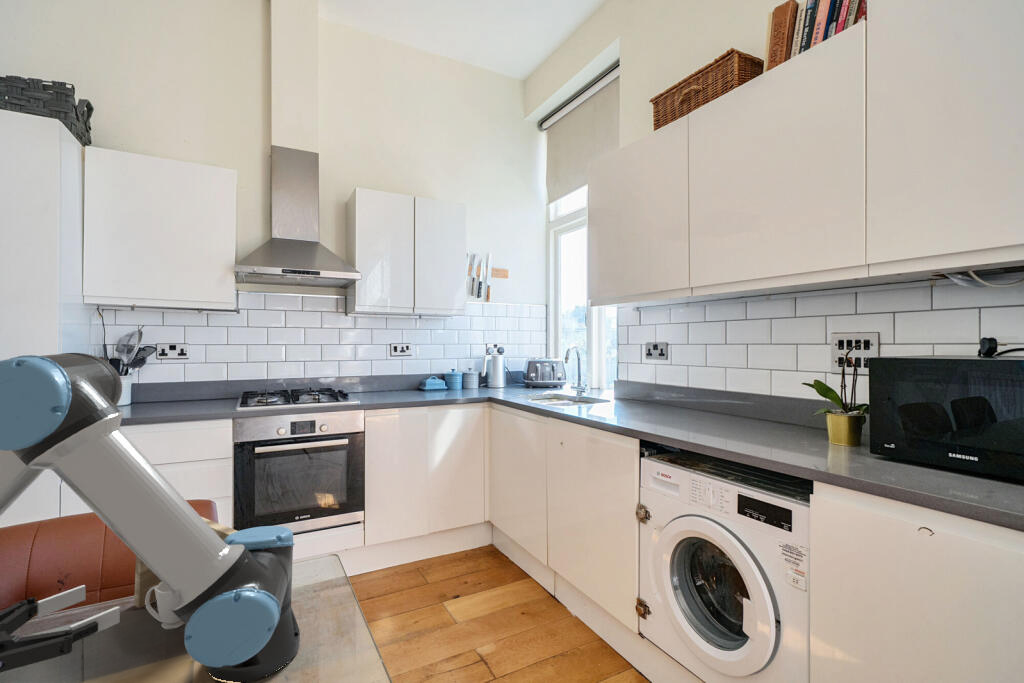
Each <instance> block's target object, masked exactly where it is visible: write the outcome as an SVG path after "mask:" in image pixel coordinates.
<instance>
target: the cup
mask: <svg viewBox="0 0 1024 683" xmlns="http://www.w3.org/2000/svg"><path fill="white" fill-rule="evenodd" d="M153 589H155V595H156V600H157V601H156V605H157V611H156V610H155V609H154V608H153V607H152V605H151V603H150V601H149V600H150V594H151V591H152V590H153ZM171 597H172V591H171V590H170V589H169V588H168V587H167V586H166V585H165V584H164V583H163V582H160V583H159V584H158V585H156V586H153V587H152V588H150V589H149V591H148V592H147V594H146V598H145V605H146V606H145V609H146V610H147V611H148V613H149V614H150V615H151V616H152V617H153V618H154V619H155V620H157V621H159V622H160V623H161V627H162V628H163V629H165V630H171V629H177V628H179V627H181V626H183V625H185V624H184V623H183V622H182V621H181V620H180V619H179V618H178V617H177V615H176V614H175V613H174V612H173V611H172V610H171V609H170V602H171Z"/></svg>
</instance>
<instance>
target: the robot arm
mask: <svg viewBox="0 0 1024 683" xmlns="http://www.w3.org/2000/svg"><path fill="white" fill-rule="evenodd" d="M122 393H123V384H122V380H121V376H120V374H119V373H118V371H117V370H116V369H115V367H114V366H113V365H112V364H111V363H110V362H107V360H105V359H104V358H101V357H98V356H97V355H96V356H95V355H93V354H89V353H83V352H82V353H81V352H67V353H63V352H62V353H59V354H58V353H56V354H48V355H47V354H46V355H34V354H29V355H18V356H15V357H11V358H7V359H1V360H0V517H1V516H3V514H4V513H5V512H6V511H8V509H9V508H10V507H11V506H12V505H13V504H14V503H15V502H16V501H17V500H18V498H20V496H22V495H23V493H24V492H25V491H26V490H28V488H29V487H30V486H31V485H32V484H33V483H34V482H35V481H36V480H37V479H38V478H39V476H41V475H42V474H43V472H45V471H46V470H50V471H51V472H54V473H55V475H57V476H58V477H59V478H60V479H61V480H62V481H63V482H64V484H66V485H67V487H68V488H70V490H72V492H73V493H74V494H76V496H78V498H80V500H81V501H82V502H84V504H86V506H88V508H89V509H90V510H91V511H92V512H93V513H95V515H96V516H97V517H98V518H99V519H100V520H101V521H102V522H103V523H104V524H105V525H106V526H107V527H108V528H109V529H110V530H111V531H112V532H113V533H114V534H115V535H116V536H117V538H119V539H120V540H121V541H122V542H123V543H124V545H126V546H127V547H128V548H129V549H130V550H131V551H132V552H133V553H134V554H135V556H136V555H137V556H138V557H139V558H140V559H141V560H142V561H143V562H144V563H145V564H146V565H147V566H148V567H149V568H150V569H151V570H152V571H153V573H154V574H155V575H156V576H157V577H158V578H159V579H160V580H161V581H162V582H163V583H164V584H165V585H166V586H167V587H168V588H169V589H170V590H171V591H172V597H171V602H170V609H171V610H172V611H173V612H174V613H175V614H176V615H177V617H178V618H179V619H180V620H181V621H182V622H183V623H184V624H183V625H184V626H185V627H184V640H183V641H184V642H183V643H184V646H185V649H186V652H187V653H188V655H189V656H190V657H191V658H192V659H193V660H194V661H195V662H197V663H199V664H200V665H204V666H206V671H207V670H208V672H209V673H210V674H211V676H213V677H215V678H217V679H221V680H226V681H233V682H246V683H251V682H254V681H258V680H261V679H263V677H264V678H266V677H267V676H266V675H269V674H271V673H273V672H275V671H276V670H278V669H279V668H281V667H282V666H284V665H285V664H286V663H287V662H289V661H290V660H291V659H292V658H293V657H294V656H296V655H297V654H296V653H298V652H299V650H298V649H300V646H301V631H300V627H299V624H298V622H297V618H296V616H295V612H294V610H293V607H292V591H293V590H292V588H293V554H294V551H293V550H294V546H295V542H294V533H293V531H292V530H291V529H290V528H288V527H285V526H281V525H280V526H279V525H265V526H264V525H263V526H255V527H250V528H245V529H241V530H237V532H235V533H232V534H230V535H229V536H227V537H226V538H225V539H224V541H223V540H222V539H221V538H220V537H219V536H218V535H217V534H216V533H215V531H214V530H213V529H212V528H211V527H210V526H209V525H208V524H207V523H206V522H205V521H204V520H203V519H202V517H203V516H201V515H200V514H199V513H198V512H197V511H196V509H194V508H193V506H192V505H190V503H189V502H188V501H187V500H186V499H185V498H184V496H182V495H181V494H180V492H179V491H178V490H177V489H176V488H175V487H174V486H173V485H172V484H171V483H170V482H169V481H168V480H167V478H166V477H165V476H164V475H163V474H162V473H161V472H160V471H159V470H158V469H157V468H156V467H155V466H154V465H153V463H152V462H151V461H150V460H149V458H147V457H146V455H145V454H144V453H142V451H141V450H140V449H139V448H138V447H137V446H136V445H135V443H134V442H133V441H132V440H130V438H128V436H127V435H126V434H125V433H124V432H123V431H122V430H121V423H122V418H123V413H122V411H121V410H120V409H119V408H118V407H117V405H118V404H119V402H120V399H121V397H122ZM86 594H87V593H86V585H85V584H83V585H79V586H76V587H74V588H72V589H68V590H66V591H62V592H60V593H56V594H53V595H52V596H50V597H46V598H44V599H43V598H42V599H41V600H38V601H36V596H35V597H29V598H27V599H26V600H25V599H24V600H20V601H19V602H16V603H14V604H12V605H11V606H8V607H6V608H5V609H3V610H1V611H0V674H1V673H5V672H7V671H11V670H15V669H17V668H18V669H19V668H22V667H25V666H29V665H33V664H36V663H37V664H38V663H40V662H45V661H47V660H51V659H54V658H58V657H62V656H63V657H64V656H65V655H68V654H70V653H72V652H73V644H74V643H76V642H79V641H81V640H83V639H85V638H88V637H90V636H92V635H94V634H97V633H99V632H102V631H104V630H106V629H109V628H111V627H113V626H115V625H117V624H120V616H121V613H120V612H121V611H120V609H121V608H120V606H114V607H112V608H110V609H108V610H105V611H103V612H100V613H98V614H95V615H92V616H91V617H88V618H85V619H84V620H81V621H78V622H76V623H73V624H70V625H69V628H68V629H64V630H58V631H51V632H46V633H39V634H34V635H27V636H19V635H16V634H15V635H12V634H13V633H15V632H16V631H17V630H18V629H19V628H20V629H21V628H22V627H23V626H24V625H25V624H26V623H28V622H29V621H31V620H32V619H33V618H35V616H36V617H37V618H42V617H45V616H47V615H50V614H52V613H56V612H57V611H60V610H62V609H63V610H64V609H66V608H68V607H70V606H73V605H76V604H78V603H80V602H84V601H86ZM299 645H300V646H299ZM297 651H298V652H297ZM295 654H296V655H295ZM294 658H295V657H294ZM294 658H293V659H294ZM293 659H292V660H293ZM292 660H291V661H292ZM291 661H290V662H291ZM290 662H289V663H290ZM284 667H285V666H284ZM281 669H282V668H281ZM278 671H279V670H278ZM208 672H207V673H208ZM275 673H276V672H275ZM273 674H274V673H273ZM271 675H272V674H271ZM265 676H266V677H265ZM269 676H270V675H269Z"/></svg>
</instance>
